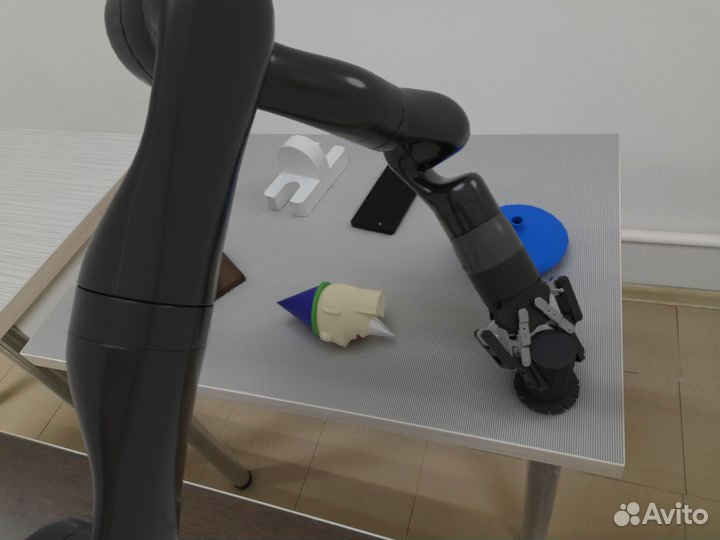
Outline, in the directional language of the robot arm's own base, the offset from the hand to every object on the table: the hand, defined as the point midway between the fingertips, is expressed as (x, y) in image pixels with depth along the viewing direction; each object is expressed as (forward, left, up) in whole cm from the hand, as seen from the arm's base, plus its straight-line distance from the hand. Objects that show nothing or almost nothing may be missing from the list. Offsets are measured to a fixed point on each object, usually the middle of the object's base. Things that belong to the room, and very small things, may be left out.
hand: (560, 373), depth 64 cm
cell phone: (+11, +47, -6) cm, 48 cm away
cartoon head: (-14, +30, -6) cm, 33 cm away
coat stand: (-25, +56, -6) cm, 61 cm away
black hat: (0, +2, -5) cm, 6 cm away
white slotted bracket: (+3, +64, -6) cm, 64 cm away
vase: (+16, +21, -6) cm, 27 cm away
